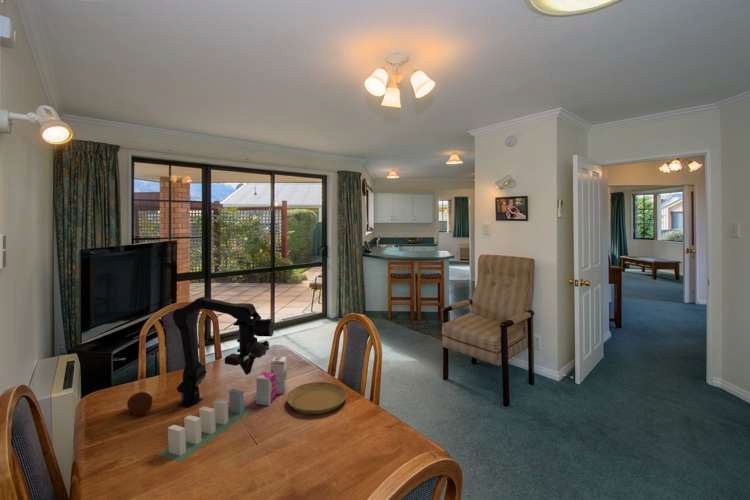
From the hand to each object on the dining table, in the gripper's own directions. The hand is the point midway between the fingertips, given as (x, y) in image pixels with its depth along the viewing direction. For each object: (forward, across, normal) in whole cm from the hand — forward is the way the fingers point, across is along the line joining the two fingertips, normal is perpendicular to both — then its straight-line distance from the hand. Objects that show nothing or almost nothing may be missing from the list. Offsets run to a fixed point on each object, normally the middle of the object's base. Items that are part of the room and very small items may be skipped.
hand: (247, 373), depth 139 cm
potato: (+13, -20, +35) cm, 42 cm away
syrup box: (+13, +14, -5) cm, 19 cm away
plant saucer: (+13, +12, -25) cm, 30 cm away
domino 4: (+12, -14, 0) cm, 19 cm away
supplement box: (+13, +4, -6) cm, 14 cm away
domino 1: (+12, -32, 0) cm, 35 cm away
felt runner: (+12, -20, 0) cm, 23 cm away
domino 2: (+12, -26, 0) cm, 29 cm away
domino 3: (+12, -20, 0) cm, 24 cm away
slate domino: (+12, -6, 0) cm, 14 cm away
